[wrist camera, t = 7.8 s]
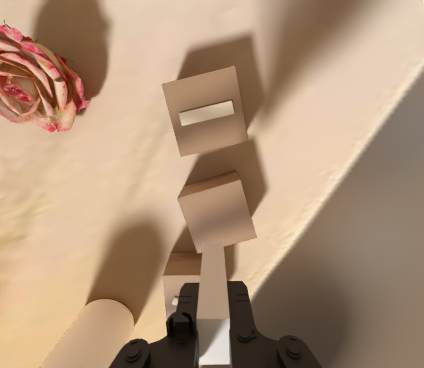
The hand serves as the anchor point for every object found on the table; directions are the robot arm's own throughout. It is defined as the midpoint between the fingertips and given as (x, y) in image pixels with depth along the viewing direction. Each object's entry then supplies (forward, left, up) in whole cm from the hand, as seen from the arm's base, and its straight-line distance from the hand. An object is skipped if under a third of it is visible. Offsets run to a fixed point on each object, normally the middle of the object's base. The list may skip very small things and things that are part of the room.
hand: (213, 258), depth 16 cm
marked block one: (-11, +1, -13) cm, 17 cm away
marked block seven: (+10, -5, -13) cm, 17 cm away
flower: (-17, -15, -13) cm, 26 cm away
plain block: (0, 0, -13) cm, 13 cm away
